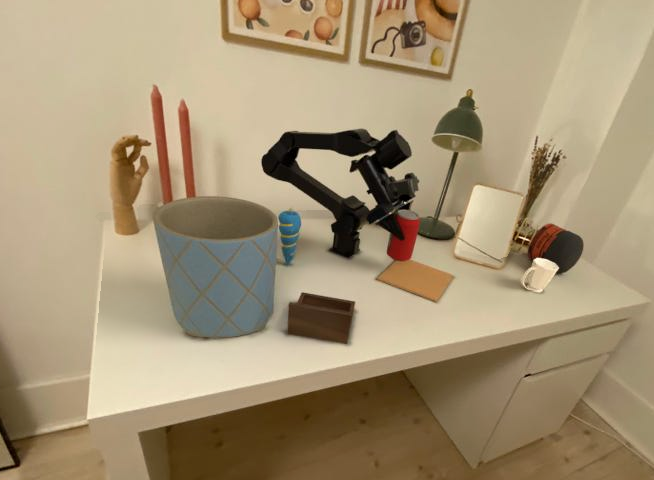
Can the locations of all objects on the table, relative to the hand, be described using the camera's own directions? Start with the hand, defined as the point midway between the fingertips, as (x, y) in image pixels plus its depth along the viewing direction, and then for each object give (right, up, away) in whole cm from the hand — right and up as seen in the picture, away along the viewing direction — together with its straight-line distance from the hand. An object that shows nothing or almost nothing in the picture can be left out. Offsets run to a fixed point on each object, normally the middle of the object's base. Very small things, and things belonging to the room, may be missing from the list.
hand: (408, 235), depth 95 cm
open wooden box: (-19, -21, -18) cm, 34 cm away
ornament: (-30, -8, -1) cm, 31 cm away
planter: (-37, -20, -21) cm, 47 cm away
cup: (+35, -13, +12) cm, 40 cm away
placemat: (+2, -10, +5) cm, 12 cm away
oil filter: (+47, -5, +26) cm, 54 cm away
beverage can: (-2, -5, +4) cm, 7 cm away
